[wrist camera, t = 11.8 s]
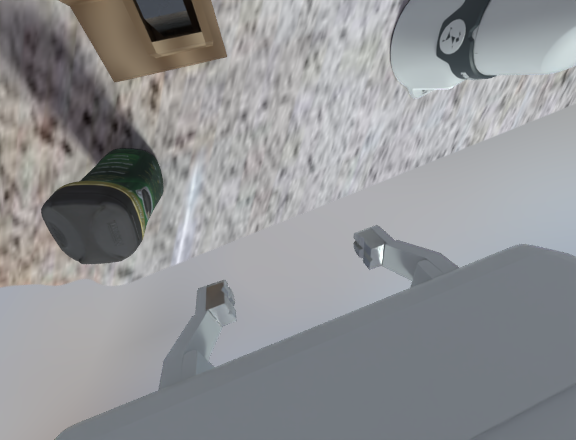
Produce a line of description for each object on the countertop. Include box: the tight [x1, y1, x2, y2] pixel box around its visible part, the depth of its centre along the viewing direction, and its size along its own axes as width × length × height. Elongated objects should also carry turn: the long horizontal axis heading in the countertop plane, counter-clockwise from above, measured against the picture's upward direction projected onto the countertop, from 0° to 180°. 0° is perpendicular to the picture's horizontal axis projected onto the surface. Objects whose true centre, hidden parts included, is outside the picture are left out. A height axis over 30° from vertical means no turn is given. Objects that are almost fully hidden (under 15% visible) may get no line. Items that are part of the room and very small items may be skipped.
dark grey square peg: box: [136, 0, 193, 37], centre depth 23 cm, size 4×4×10 cm
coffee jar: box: [41, 148, 163, 264], centre depth 29 cm, size 10×8×19 cm
